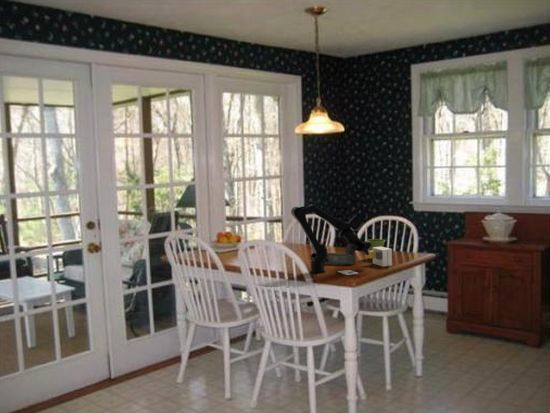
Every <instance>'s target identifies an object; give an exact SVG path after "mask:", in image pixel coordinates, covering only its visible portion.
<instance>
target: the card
mask: <svg viewBox="0 0 550 413" xmlns="http://www.w3.org/2000/svg"><path fill="white" fill-rule="evenodd" d="M337 272H338V273H340V274H343V275H346V276H350V275H358V274H359V272H357V271H354V270H350V269H347V270H346V269H344V270H338V271H337Z"/></svg>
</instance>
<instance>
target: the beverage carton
mask: <svg viewBox="0 0 550 413" xmlns="http://www.w3.org/2000/svg"><path fill="white" fill-rule="evenodd" d="M356 257H357V256H356V252H355V253H354V254H353V256H351V255H348V254H346V253H345V252H327V256H326V257H325V258H324V262H323V263H324V265H355V264H356V262H357V260H356V259H357V258H356Z"/></svg>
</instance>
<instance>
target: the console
mask: <svg viewBox="0 0 550 413" xmlns="http://www.w3.org/2000/svg"><path fill="white" fill-rule="evenodd" d="M372 250H375V251H377V252H379V251H380V252H382V259H380V260H379V259H376V258H373V259H372V265H376V266H377V265H378V266H380V267H390V266H393V251H392V250H393V249H392V248H389V247H385V246H384V247H372Z"/></svg>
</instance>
